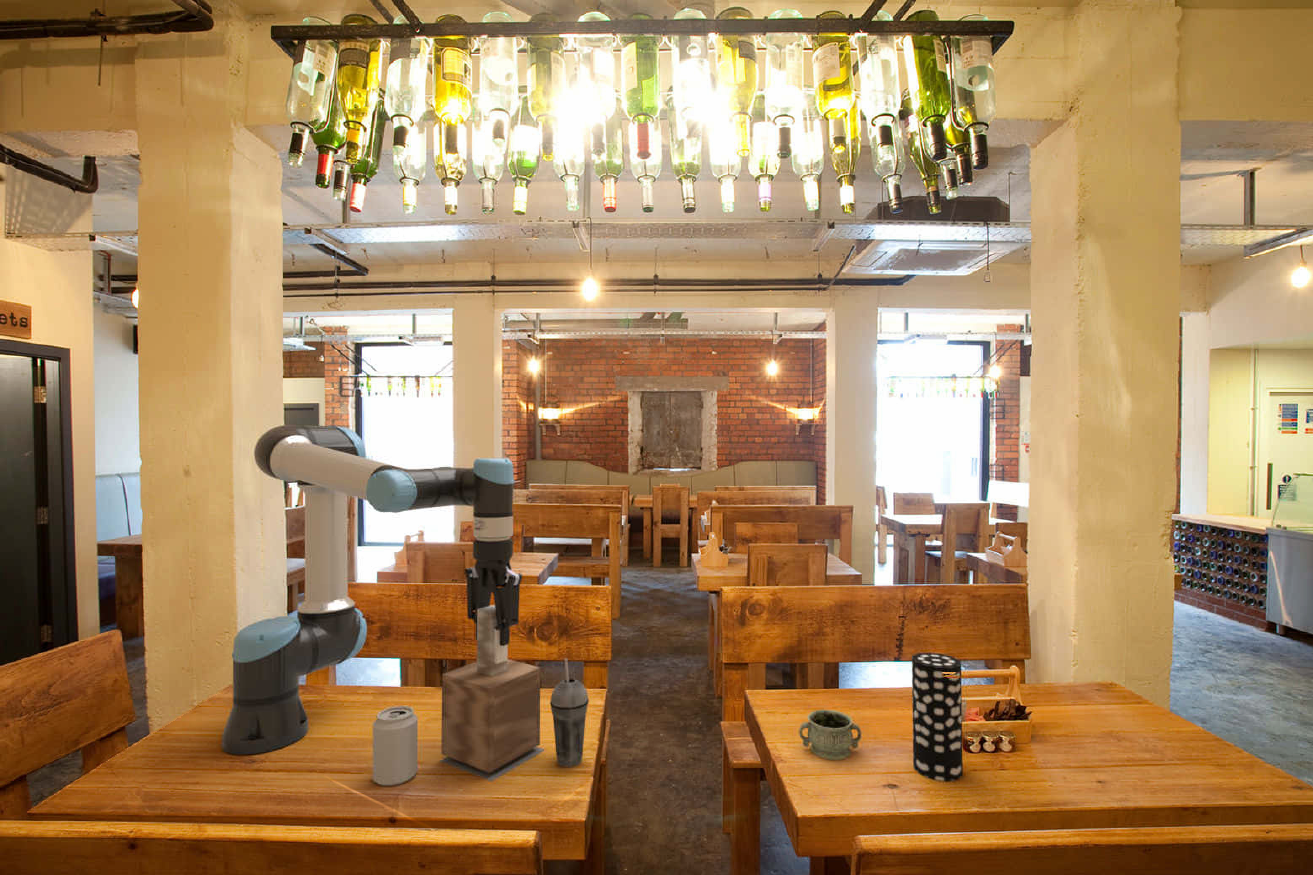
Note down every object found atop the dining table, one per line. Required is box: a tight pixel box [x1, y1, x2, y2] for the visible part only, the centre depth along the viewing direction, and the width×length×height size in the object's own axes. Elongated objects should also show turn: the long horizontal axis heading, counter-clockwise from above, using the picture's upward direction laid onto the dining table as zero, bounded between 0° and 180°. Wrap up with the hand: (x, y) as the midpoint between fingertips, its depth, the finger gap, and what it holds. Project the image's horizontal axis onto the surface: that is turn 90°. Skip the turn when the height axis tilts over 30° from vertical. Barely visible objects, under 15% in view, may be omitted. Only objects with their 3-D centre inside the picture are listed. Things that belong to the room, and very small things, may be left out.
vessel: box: [798, 709, 862, 761], centre depth 125 cm, size 12×9×6 cm
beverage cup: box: [549, 657, 590, 768], centre depth 120 cm, size 7×7×20 cm
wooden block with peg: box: [440, 604, 541, 773], centre depth 123 cm, size 13×13×27 cm
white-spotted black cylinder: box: [911, 652, 964, 782], centre depth 117 cm, size 8×8×20 cm
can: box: [372, 705, 418, 787], centre depth 115 cm, size 8×8×12 cm
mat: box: [439, 746, 546, 782], centre depth 123 cm, size 14×14×1 cm
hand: (492, 658), depth 123 cm, fingers closed on wooden block with peg, 4 cm apart
